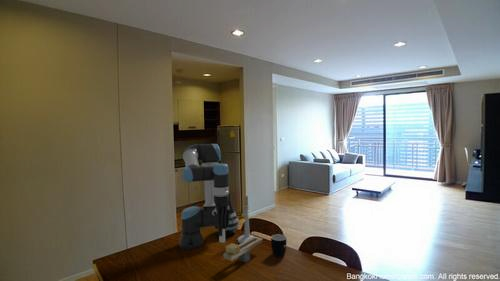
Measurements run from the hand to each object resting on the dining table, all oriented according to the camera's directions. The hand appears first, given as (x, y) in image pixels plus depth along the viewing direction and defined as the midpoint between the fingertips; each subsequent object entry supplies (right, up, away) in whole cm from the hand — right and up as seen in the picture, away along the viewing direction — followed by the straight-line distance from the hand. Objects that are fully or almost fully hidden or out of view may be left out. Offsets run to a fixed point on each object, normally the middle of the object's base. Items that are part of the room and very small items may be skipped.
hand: (222, 241), depth 130 cm
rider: (+5, -10, +7) cm, 13 cm away
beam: (+11, -16, +15) cm, 24 cm away
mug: (+31, -16, +22) cm, 41 cm away
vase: (-2, -15, +54) cm, 57 cm away
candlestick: (+12, -15, +41) cm, 46 cm away
